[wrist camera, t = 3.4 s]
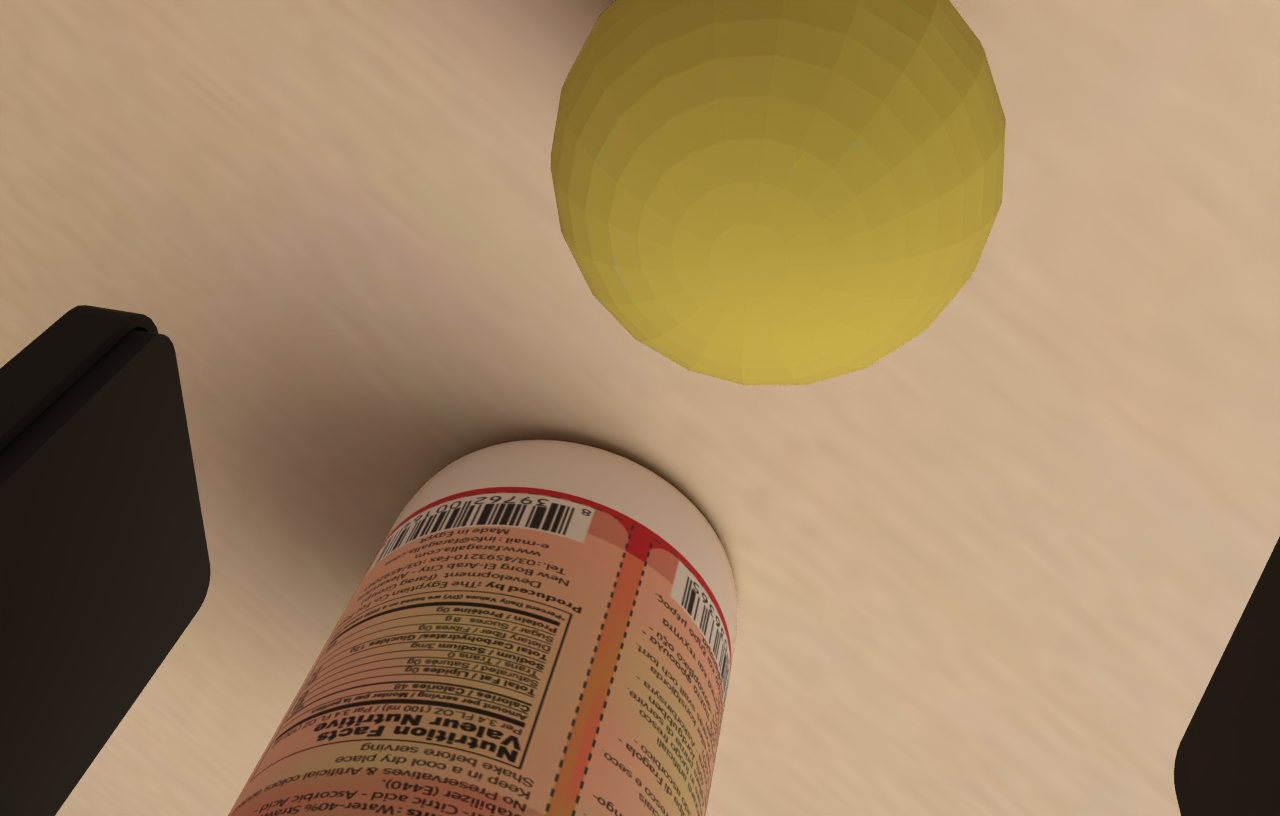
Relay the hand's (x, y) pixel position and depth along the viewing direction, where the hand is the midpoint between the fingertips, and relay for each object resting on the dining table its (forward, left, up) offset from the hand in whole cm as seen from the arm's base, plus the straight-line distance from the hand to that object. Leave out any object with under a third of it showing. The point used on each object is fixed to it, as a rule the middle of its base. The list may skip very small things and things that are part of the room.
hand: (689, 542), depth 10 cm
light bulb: (0, 0, -16) cm, 16 cm away
